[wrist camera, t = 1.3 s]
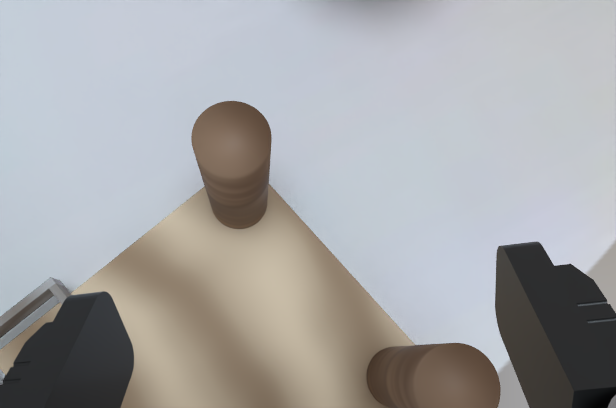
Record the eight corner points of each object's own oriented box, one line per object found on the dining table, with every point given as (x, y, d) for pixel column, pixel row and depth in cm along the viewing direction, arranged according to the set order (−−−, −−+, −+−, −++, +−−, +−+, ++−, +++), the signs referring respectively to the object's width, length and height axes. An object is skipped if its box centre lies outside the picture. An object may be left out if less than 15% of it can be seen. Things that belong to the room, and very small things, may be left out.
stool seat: (192, 630, 28) (149, 811, 17) (-20, 355, 31) (-179, 356, 19) (437, 378, 32) (532, 390, 21) (234, 153, 35) (223, 59, 24)
